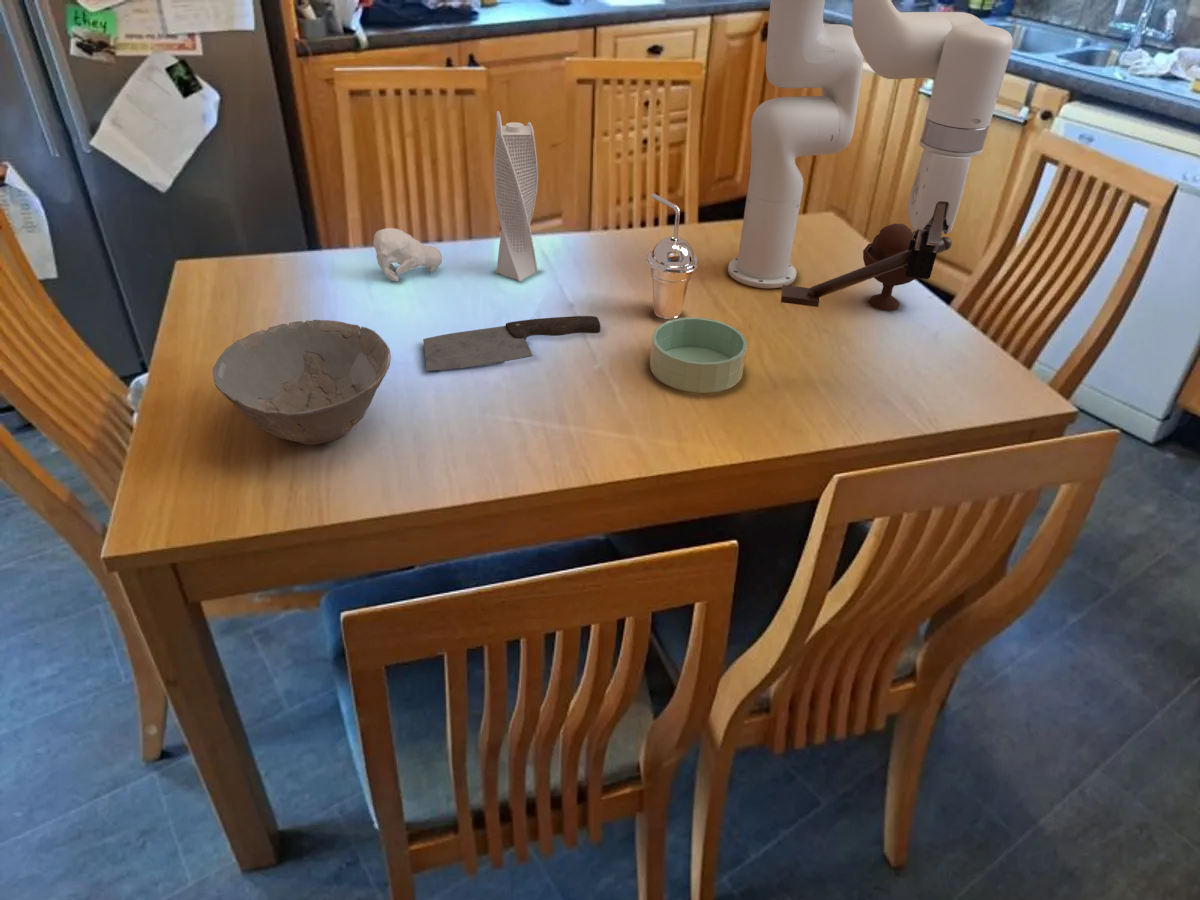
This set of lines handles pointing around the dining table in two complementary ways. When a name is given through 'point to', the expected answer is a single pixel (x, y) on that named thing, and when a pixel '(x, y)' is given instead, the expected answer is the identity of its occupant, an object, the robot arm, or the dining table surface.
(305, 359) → the ceramic bowl
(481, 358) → the cleaver
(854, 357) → the dining table surface
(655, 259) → the cup with straw
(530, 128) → the skyscraper
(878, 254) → the ice cream bowl
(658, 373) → the bowl
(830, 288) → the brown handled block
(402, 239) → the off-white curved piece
